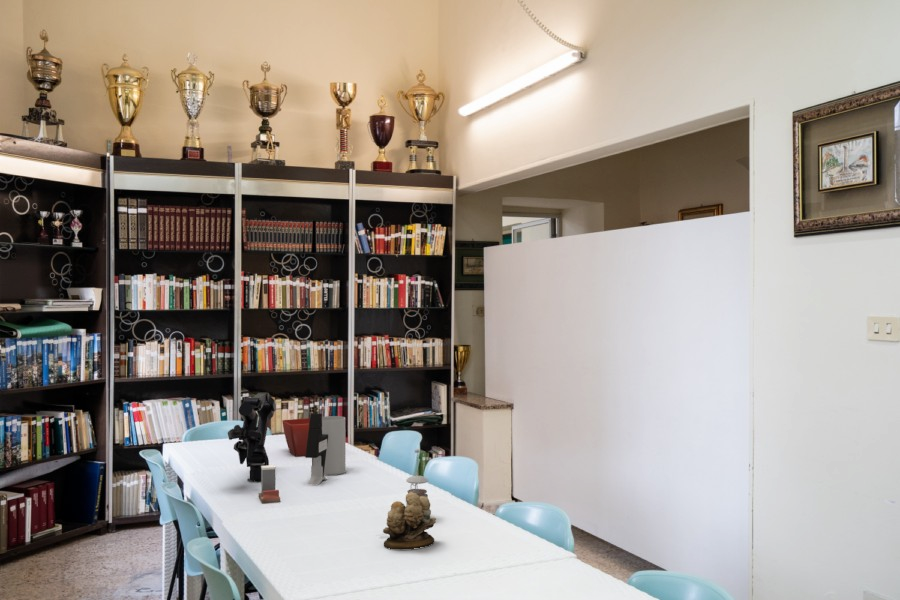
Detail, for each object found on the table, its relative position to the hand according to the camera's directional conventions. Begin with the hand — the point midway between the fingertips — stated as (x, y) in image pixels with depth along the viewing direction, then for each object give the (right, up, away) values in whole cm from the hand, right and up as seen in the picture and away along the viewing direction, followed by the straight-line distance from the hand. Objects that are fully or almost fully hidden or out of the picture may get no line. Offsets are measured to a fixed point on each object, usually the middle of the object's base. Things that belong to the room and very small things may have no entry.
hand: (245, 460), depth 329 cm
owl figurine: (+72, -13, -69) cm, 101 cm away
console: (+13, -13, -12) cm, 22 cm away
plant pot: (+10, -13, +82) cm, 83 cm away
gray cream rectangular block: (+12, -11, -10) cm, 19 cm away
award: (+27, -13, +18) cm, 35 cm away
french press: (+72, -13, -37) cm, 82 cm away
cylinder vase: (+30, -13, +37) cm, 49 cm away
